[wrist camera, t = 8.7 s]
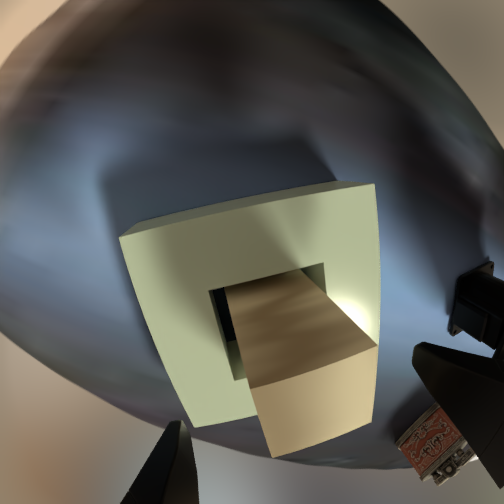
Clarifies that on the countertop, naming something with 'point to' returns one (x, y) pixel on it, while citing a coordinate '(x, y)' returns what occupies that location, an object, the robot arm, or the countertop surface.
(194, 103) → the countertop surface
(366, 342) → the peg
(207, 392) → the well holder
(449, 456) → the lighter
